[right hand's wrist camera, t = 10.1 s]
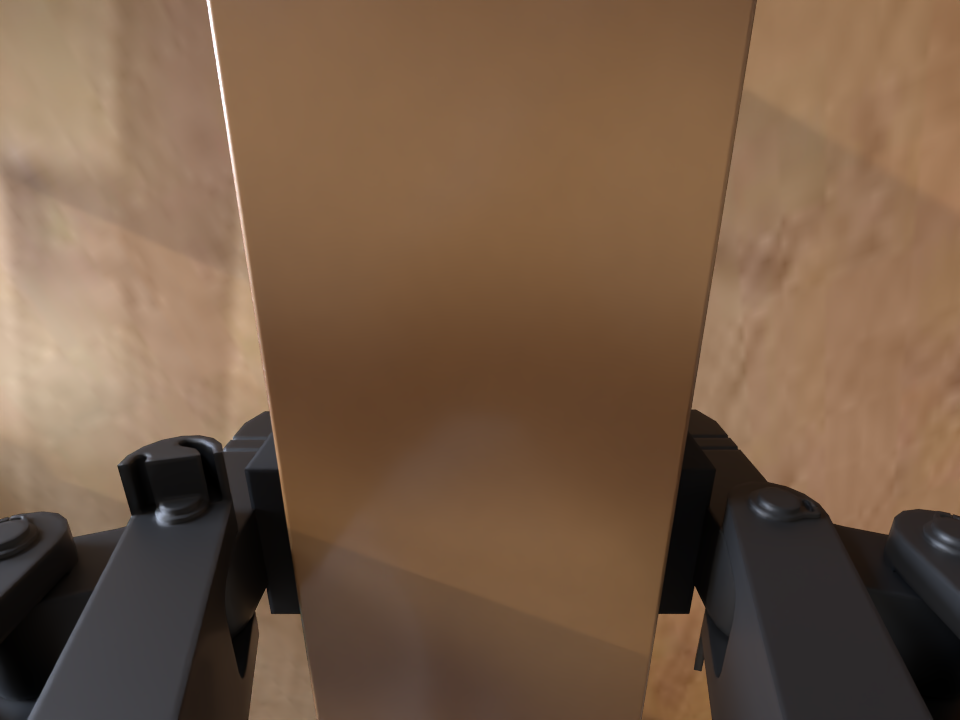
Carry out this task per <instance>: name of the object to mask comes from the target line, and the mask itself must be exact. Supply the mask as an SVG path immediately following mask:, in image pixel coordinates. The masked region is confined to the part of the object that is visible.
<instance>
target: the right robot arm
mask: <svg viewBox="0 0 960 720" xmlns="http://www.w3.org/2000/svg"><path fill="white" fill-rule="evenodd" d="M118 470H119V473H120V477H121V480H122V484H123V487H124V491H125V494H126V498H127V501H128V505H129V508H130V512H131V515H132V516H131V518H130V520H129V522H128V524H127V526H126V527H122V528H118V529H113V530H108V531H103V532H98V533H93V534H88V535H83V536H78V537H72V534H71V531H70V528H69V525H68V522H67V519H65V518H64V517H62V516H61V515H60V514H58V513H51V512H35V513H27V514H18V515H14V516H11V517H10V518H9V517H6V518H3V519H0V720H248V717H249V709H250V701H251V693H252V685H253V677H254V669H255V661H256V654H257V646H258V638H259V631H258V624H257V619H256V614H255V610H256V607H257V605H258V603H259V601H260V599H261V597H262V595H263V593H264V591H265V589H267V594H268V599H269V605H270V610H271V614H301V613H300V607H299V600H298V594H297V587H296V581H295V574H294V568H293V561H292V555H291V548H290V542H289V535H288V529H287V522H286V515H285V509H284V502H283V496H282V489H281V483H280V476H279V470H278V463H277V457H276V450H275V444H274V437H273V431H272V424H271V417H270V411H265V412H263V413H261V414H260V415H258V416H256V417H255V418H253V419H251V420H250V421H248V422H246V423H245V424H244V425H243V426H242V427H241V428H240V430H239V431H238V432H237V433H236V434H235V436H234V437H233V440H230V441H229V443H228V444H227V445H226V446H225V447H224V449H222V444H221V443H220V442H218V441H217V440H215V439H214V438H210V437H205V436H200V435H196V436H179V437H174V438H169V439H164V440H161V441H158V442H155V443H152V444H149V445H147V446H144V447H142V448H140V449H138V450H137V451H135V452H133V453H131V454H129V455H128V456H127V457H126V458H125V459H124V460H123V461H122V462H121V463H120V464H119V465H118ZM694 586H695V587H696V589H697V591H698V593H699V595H700V597H701V599H702V601H703V604H704V606H705V608H706V609H705V614H704V619H703V624H702V628H701V633H700V638H699V643H698V648H697V653H696V659H695V665H694V670H698V671H702V666H703V661H704V660H705V668H706V676H707V684H708V692H709V699H710V707H711V715H712V720H960V516H957V515H954V514H953V515H951V514H950V513H946V512H941V511H931V510H922V509H915V510H907V511H902V512H901V513H900V514H898V515H897V516H896V517H895V518H894V521H893V524H892V527H891V529H890V532H889V535H885V534H880V533H875V532H870V531H865V530H860V529H855V528H849V527H844V526H840V525H836V524H833V523H832V521H831V519H830V517H829V515H828V514H827V513H826V512H825V510H824V509H823V508H822V507H821V506H820V504H819V503H817V502H816V501H814V500H813V499H811V498H810V497H808V496H807V495H805V494H803V493H801V492H798V491H796V490H794V489H791V488H789V487H787V486H782V485H778V484H774V483H769V482H767V481H766V479H765V478H764V477H763V476H762V475H761V474H760V472H759V471H758V470H757V469H756V468H755V467H754V465H753V464H752V463H751V462H750V461H749V459H748V458H747V457H746V456H745V455H744V454H743V452H742V451H741V450H738V447H737V445H736V444H735V443H734V442H733V441H732V440H731V438H728V435H727V434H726V433H725V431H724V430H723V429H722V428H721V427H720V426H719V424H718V423H717V422H716V421H714V420H713V419H711V418H709V417H708V416H706V415H704V414H702V413H701V412H699V411H697V410H691V413H690V420H689V426H688V432H687V438H686V445H685V451H684V457H683V463H682V470H681V476H680V482H679V488H678V494H677V501H676V507H675V513H674V519H673V526H672V532H671V538H670V544H669V550H668V557H667V563H666V569H665V575H664V582H663V588H662V594H661V600H660V607H659V613H658V614H689V613H690V607H691V602H692V597H693V591H694Z"/></svg>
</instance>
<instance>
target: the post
mask: <svg viewBox="0 0 960 720" xmlns="http://www.w3.org/2000/svg"><path fill="white" fill-rule="evenodd" d="M756 2H757V0H207V6H208V12H209V19H210V26H211V32H212V39H213V45H214V52H215V58H216V65H217V71H218V78H219V84H220V91H221V97H222V104H223V110H224V117H225V124H226V130H227V137H228V143H229V150H230V156H231V163H232V169H233V176H234V182H235V189H236V195H237V202H238V208H239V215H240V222H241V228H242V235H243V241H244V248H245V254H246V261H247V267H248V274H249V280H250V287H251V293H252V300H253V306H254V313H255V319H256V326H257V333H258V339H259V346H260V352H261V359H262V365H263V372H264V378H265V385H266V391H267V398H268V404H269V411H270V417H271V424H272V431H273V437H274V444H275V450H276V457H277V463H278V470H279V476H280V483H281V489H282V496H283V502H284V509H285V515H286V522H287V529H288V535H289V542H290V548H291V555H292V561H293V568H294V574H295V581H296V587H297V594H298V600H299V607H300V613H301V620H302V627H303V633H304V640H305V646H306V653H307V659H308V666H309V672H310V679H311V685H312V692H313V698H314V705H315V711H316V718H317V720H641V719H642V712H643V706H644V700H645V694H646V687H647V681H648V675H649V669H650V663H651V656H652V650H653V644H654V638H655V631H656V625H657V619H658V613H659V607H660V600H661V594H662V588H663V582H664V575H665V569H666V563H667V557H668V550H669V544H670V538H671V532H672V526H673V519H674V513H675V507H676V501H677V494H678V488H679V482H680V476H681V470H682V463H683V457H684V451H685V445H686V438H687V432H688V426H689V420H690V413H691V407H692V401H693V395H694V389H695V382H696V376H697V370H698V364H699V357H700V351H701V345H702V339H703V332H704V326H705V320H706V314H707V308H708V301H709V295H710V289H711V283H712V276H713V270H714V264H715V258H716V252H717V245H718V239H719V233H720V227H721V220H722V214H723V208H724V202H725V195H726V189H727V183H728V177H729V171H730V164H731V158H732V152H733V146H734V139H735V133H736V127H737V121H738V114H739V108H740V102H741V96H742V90H743V83H744V77H745V71H746V65H747V58H748V52H749V46H750V40H751V34H752V27H753V21H754V15H755V9H756Z"/></svg>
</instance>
